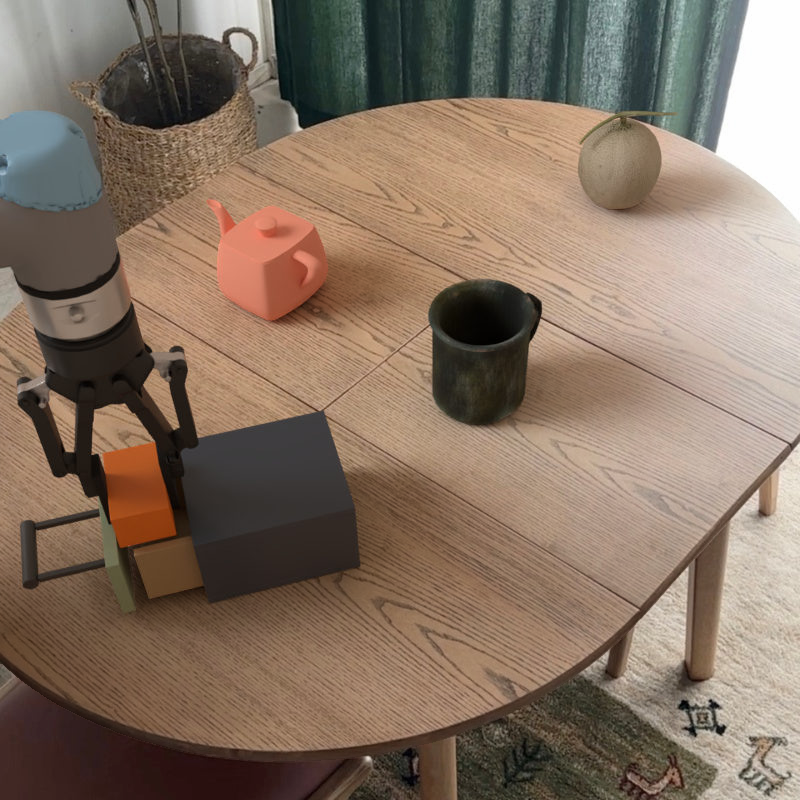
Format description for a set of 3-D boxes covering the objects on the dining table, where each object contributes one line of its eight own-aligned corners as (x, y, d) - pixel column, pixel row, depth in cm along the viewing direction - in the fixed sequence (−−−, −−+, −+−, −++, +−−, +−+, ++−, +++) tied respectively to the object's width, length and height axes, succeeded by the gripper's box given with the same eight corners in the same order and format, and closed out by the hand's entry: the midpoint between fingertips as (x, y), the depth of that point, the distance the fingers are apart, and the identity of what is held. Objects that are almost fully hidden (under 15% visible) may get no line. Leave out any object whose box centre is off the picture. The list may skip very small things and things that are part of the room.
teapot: (293, 343, 124) (283, 274, 116) (186, 284, 132) (171, 215, 124) (356, 292, 130) (351, 223, 122) (251, 238, 138) (240, 170, 130)
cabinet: (209, 604, 99) (193, 545, 92) (190, 502, 107) (174, 442, 101) (360, 566, 101) (355, 507, 95) (330, 470, 110) (323, 410, 103)
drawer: (37, 634, 96) (14, 589, 91) (32, 537, 104) (11, 490, 98) (267, 578, 100) (258, 531, 94) (246, 488, 107) (236, 440, 102)
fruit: (556, 187, 144) (566, 87, 133) (634, 173, 146) (650, 73, 135) (585, 232, 137) (598, 130, 126) (667, 216, 139) (687, 115, 128)
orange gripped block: (120, 548, 93) (110, 520, 91) (112, 481, 99) (102, 453, 96) (176, 535, 94) (168, 507, 91) (165, 469, 100) (157, 440, 97)
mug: (407, 394, 117) (405, 312, 109) (498, 332, 124) (503, 250, 115) (478, 447, 112) (482, 365, 103) (569, 378, 118) (579, 296, 110)
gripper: (-42, 369, 76) (44, 561, 92) (209, 320, 79) (247, 513, 95) (-41, 303, 81) (40, 496, 97) (194, 259, 84) (233, 453, 100)
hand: (142, 504), depth 96 cm, fingers closed on orange gripped block, 5 cm apart
